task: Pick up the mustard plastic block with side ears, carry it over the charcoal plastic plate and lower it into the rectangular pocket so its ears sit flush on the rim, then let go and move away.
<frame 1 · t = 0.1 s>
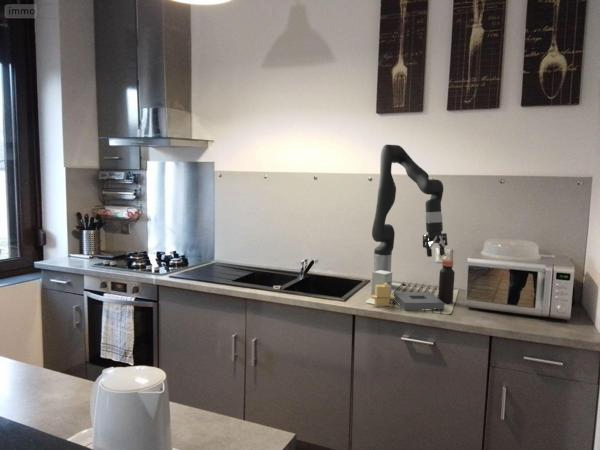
hand: (435, 255, 222), 22 cm above the counter, tool pointing down, fingers open, 8 cm apart
supplement box: (381, 297, 231), on the counter
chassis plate: (417, 304, 220), on the counter
servo block: (381, 304, 218), on the counter
bottle: (445, 302, 225), on the counter
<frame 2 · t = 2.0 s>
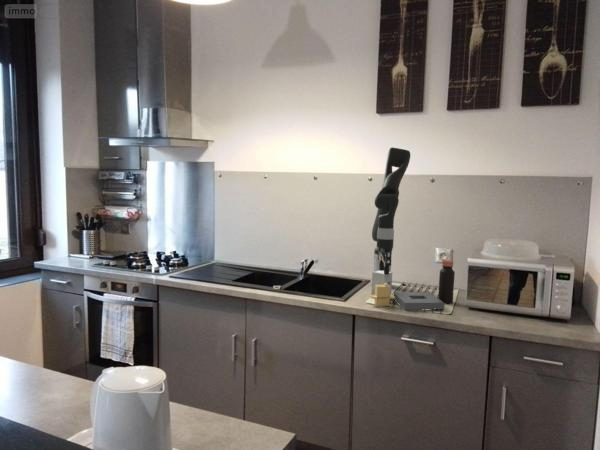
hand: (383, 272, 216), 15 cm above the counter, tool pointing down, fingers open, 8 cm apart
nothing on the counter moved.
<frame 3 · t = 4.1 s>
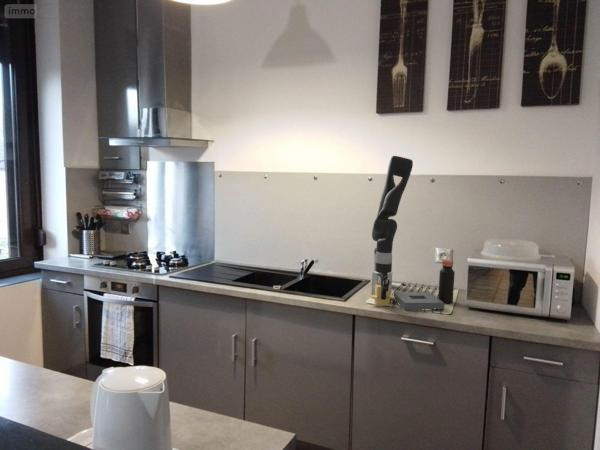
hand: (382, 297, 218), 3 cm above the counter, tool pointing down, fingers closed on servo block, 4 cm apart
servo block: (381, 304, 218), on the counter, touching gripper
everything else where it was.
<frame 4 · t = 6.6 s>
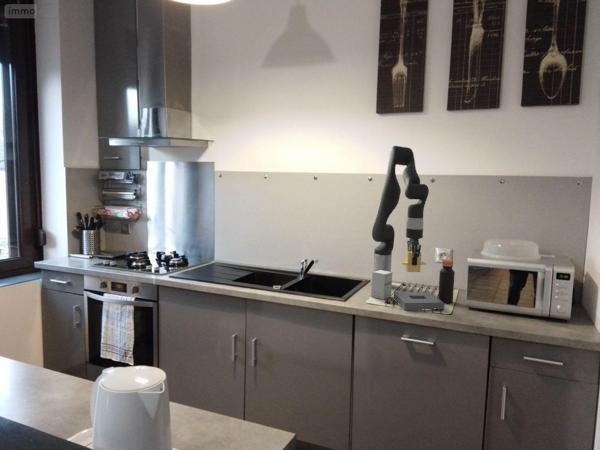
hand: (412, 264, 217), 19 cm above the counter, tool pointing down, fingers closed on servo block, 4 cm apart
servo block: (412, 271, 217), point 16 cm above the counter, touching gripper
everything else where it was.
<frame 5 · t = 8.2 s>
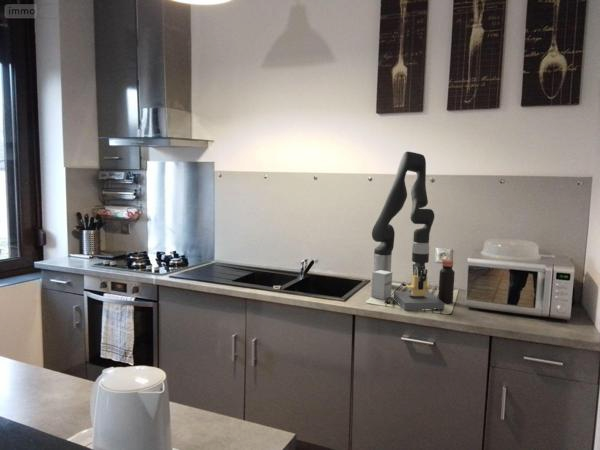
hand: (418, 287, 219), 8 cm above the counter, tool pointing down, fingers closed on servo block, 4 cm apart
servo block: (418, 294, 219), point 5 cm above the counter, touching gripper
everything else where it was.
when the fingers open (4 cm above the counter, at t = 9.3 s): servo block drops 1 cm, resting on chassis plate.
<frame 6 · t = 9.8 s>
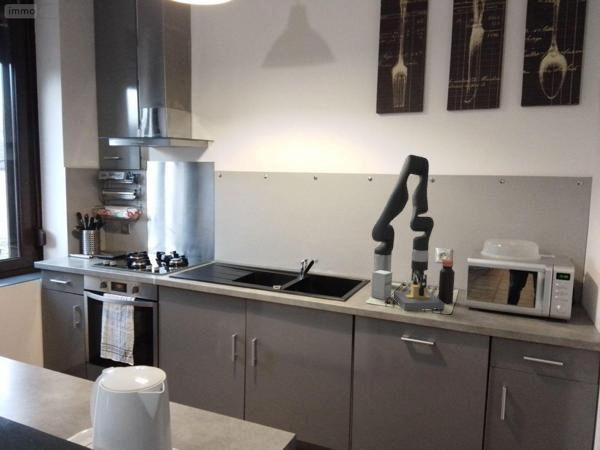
hand: (418, 293, 219), 5 cm above the counter, tool pointing down, fingers open, 8 cm apart
servo block: (417, 304, 220), resting on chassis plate
everything else where it was.
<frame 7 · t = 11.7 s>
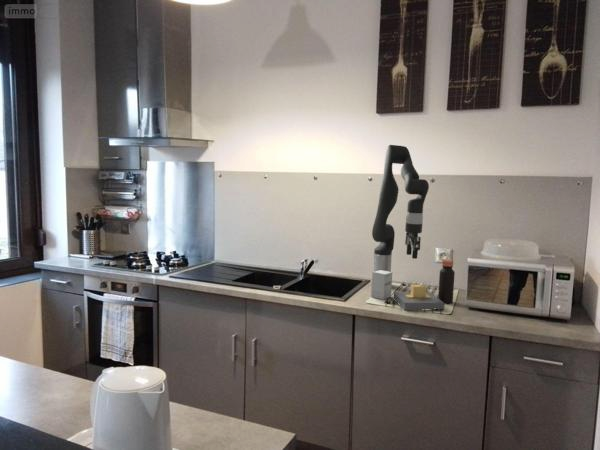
hand: (411, 256, 220), 22 cm above the counter, tool pointing down, fingers open, 8 cm apart
nothing on the counter moved.
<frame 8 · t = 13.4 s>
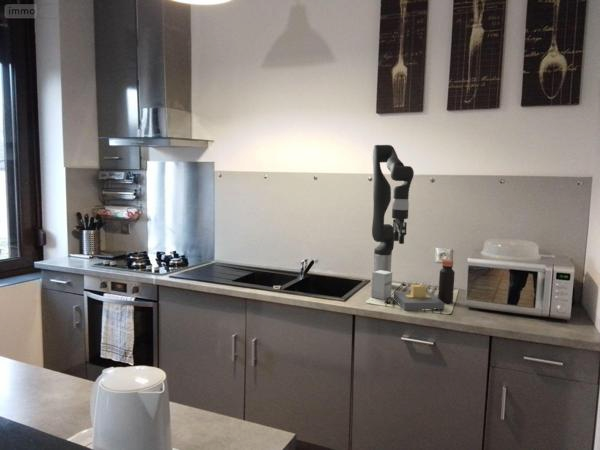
hand: (398, 242, 224), 28 cm above the counter, tool pointing down, fingers open, 8 cm apart
nothing on the counter moved.
at the end: servo block 0.0 cm off-centre on the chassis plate, point 0.0 cm above the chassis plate's base; servo block tilted 0°; the gripper is holding nothing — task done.
